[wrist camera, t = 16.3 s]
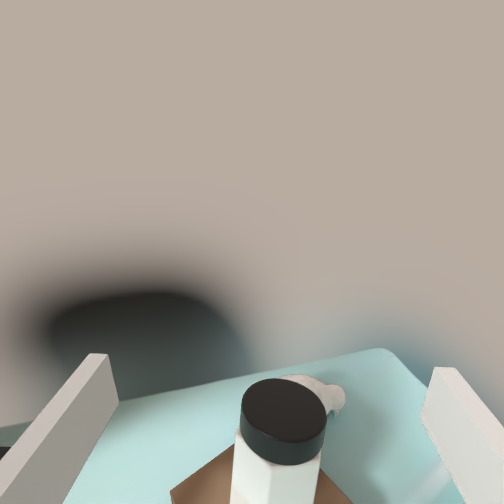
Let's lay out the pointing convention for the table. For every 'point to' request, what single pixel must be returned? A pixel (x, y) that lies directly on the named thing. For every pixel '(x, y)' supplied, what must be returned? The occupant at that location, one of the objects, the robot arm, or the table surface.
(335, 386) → the white animal figurine
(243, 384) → the table surface
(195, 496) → the walnut block
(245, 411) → the jar
